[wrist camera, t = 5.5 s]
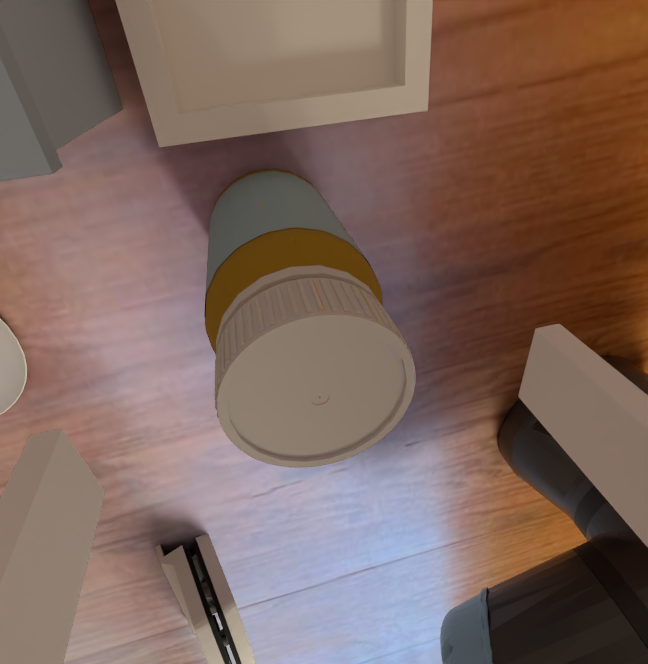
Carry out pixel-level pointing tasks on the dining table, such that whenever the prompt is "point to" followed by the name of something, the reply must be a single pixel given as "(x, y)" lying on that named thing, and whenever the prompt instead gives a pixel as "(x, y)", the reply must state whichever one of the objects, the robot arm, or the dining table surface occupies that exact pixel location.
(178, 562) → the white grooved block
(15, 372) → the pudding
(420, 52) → the tray
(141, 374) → the dining table surface
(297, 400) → the bottle
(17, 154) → the storage box
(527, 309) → the dining table surface
